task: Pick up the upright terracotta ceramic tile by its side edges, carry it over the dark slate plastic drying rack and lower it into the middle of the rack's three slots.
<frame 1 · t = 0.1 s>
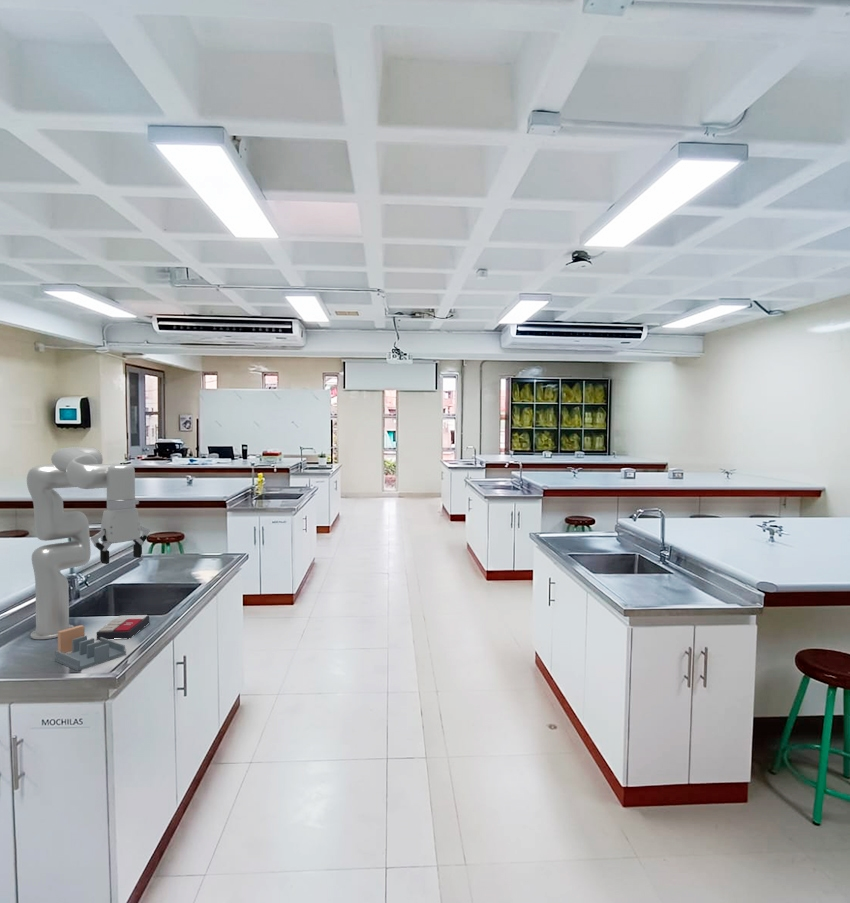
hand: (121, 560, 159), 31 cm above the countertop, tool pointing down, fingers open, 9 cm apart
tile: (71, 650, 168), on the countertop
rack: (90, 657, 162), on the countertop
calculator: (124, 633, 185), on the countertop
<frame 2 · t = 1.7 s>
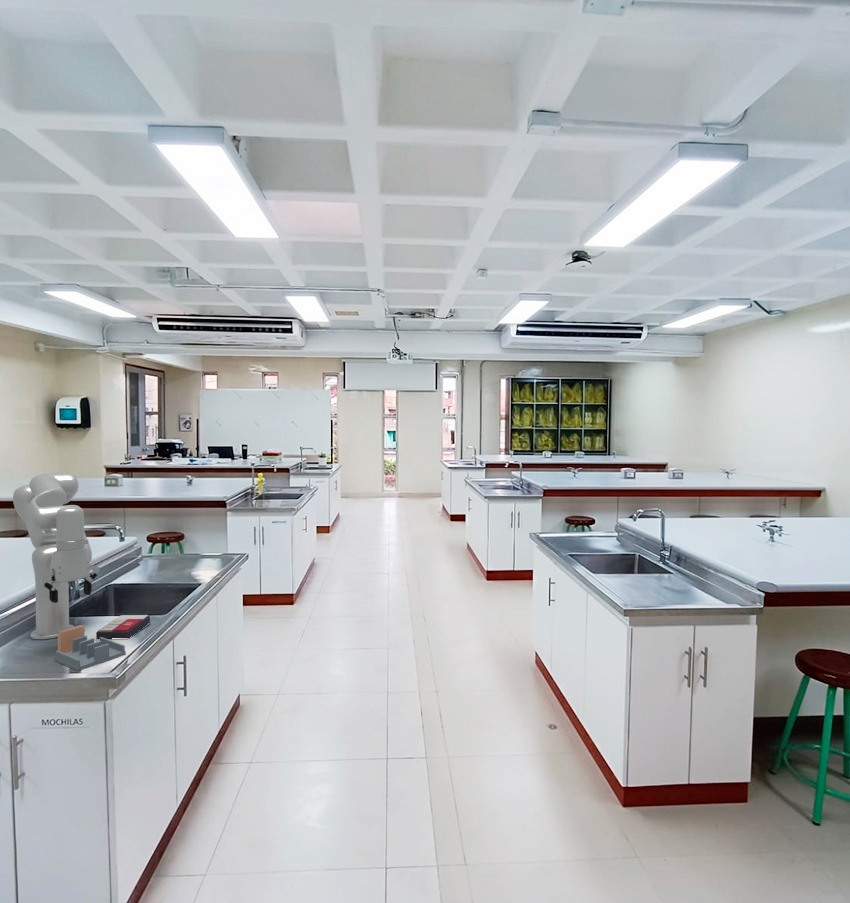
hand: (71, 598, 168), 17 cm above the countertop, tool pointing down, fingers open, 9 cm apart
nothing on the countertop moved.
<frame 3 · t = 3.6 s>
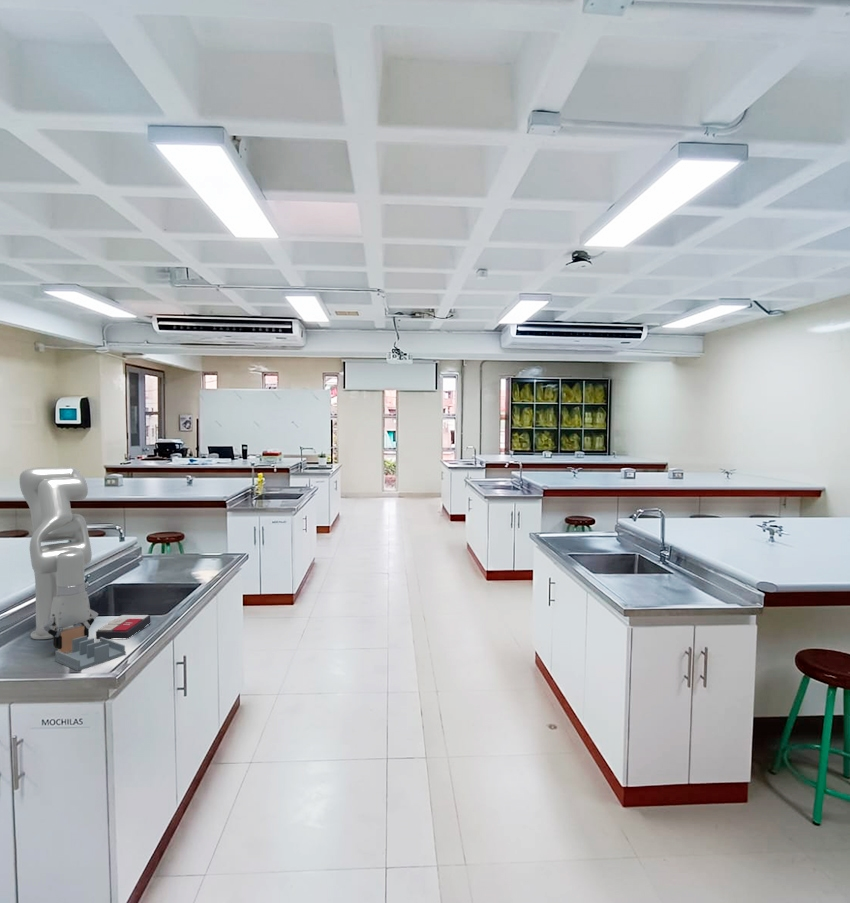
hand: (71, 643, 168), 2 cm above the countertop, tool pointing down, fingers closed on tile, 7 cm apart
tile: (71, 650, 168), on the countertop, touching gripper
everything else where it was.
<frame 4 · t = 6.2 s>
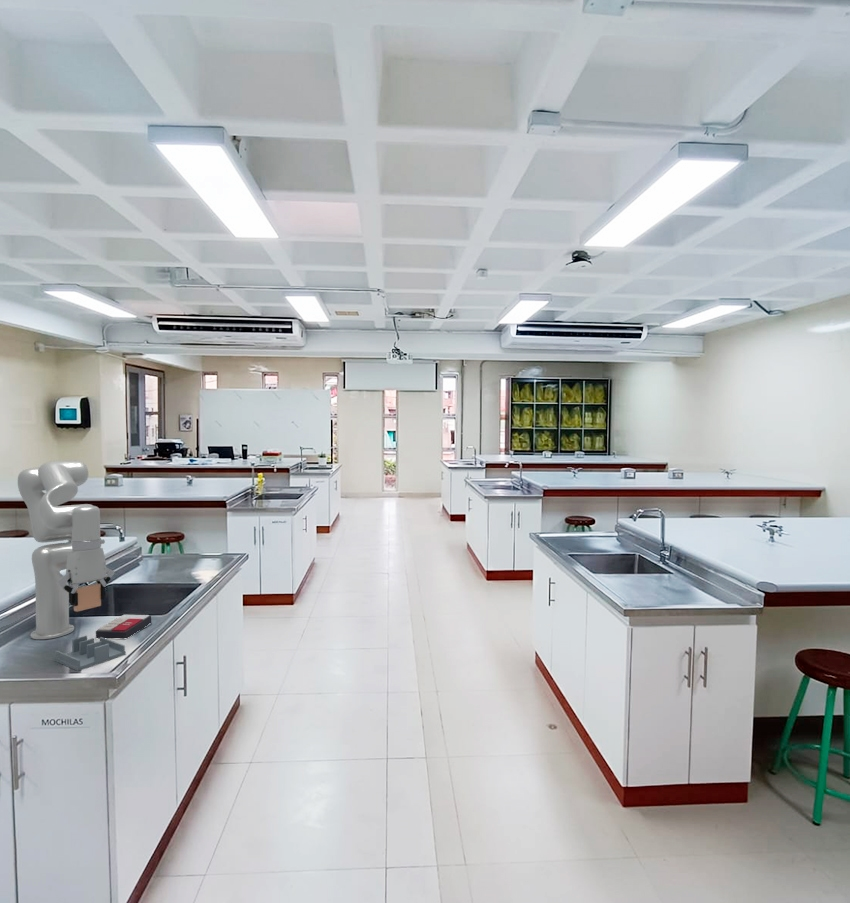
hand: (87, 601, 162), 17 cm above the countertop, tool pointing down, fingers closed on tile, 7 cm apart
tile: (87, 608, 163), point 15 cm above the countertop, touching gripper
everything else where it was.
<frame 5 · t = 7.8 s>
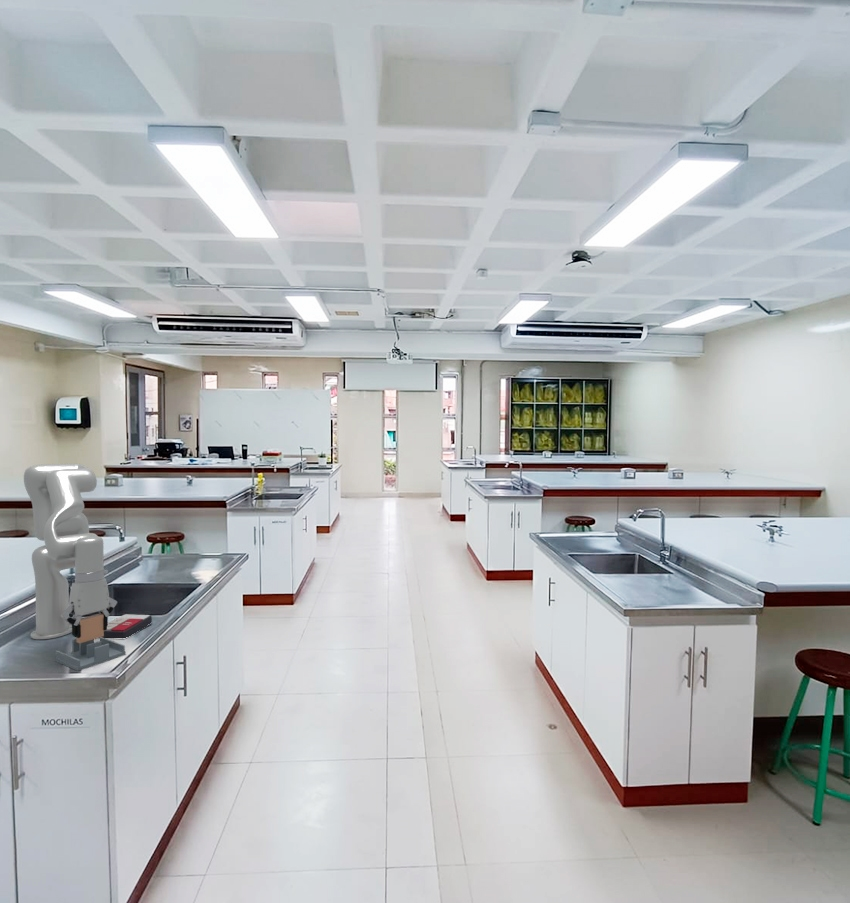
hand: (90, 632, 162), 8 cm above the countertop, tool pointing down, fingers closed on tile, 7 cm apart
tile: (90, 639, 162), point 6 cm above the countertop, touching gripper
when the fingers open (4 cm above the countertop, at t = 9.1 s): tile drops 1 cm, resting on rack.
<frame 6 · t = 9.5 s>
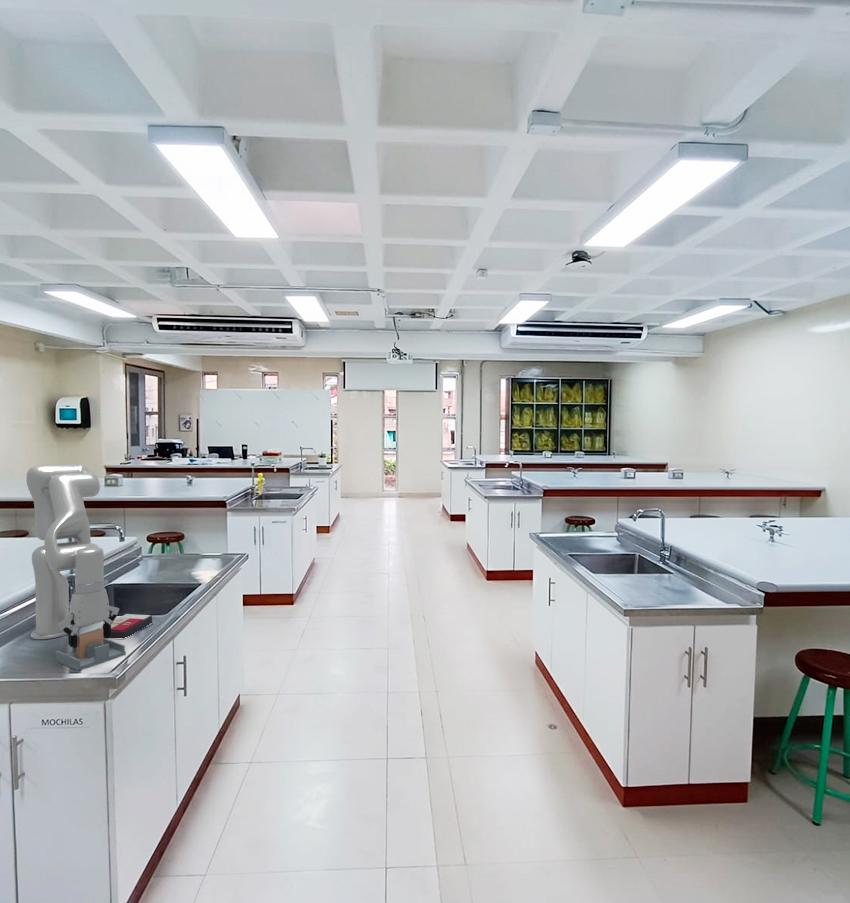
hand: (90, 641, 162), 5 cm above the countertop, tool pointing down, fingers open, 9 cm apart
tile: (90, 654, 162), point 1 cm above the countertop, touching rack
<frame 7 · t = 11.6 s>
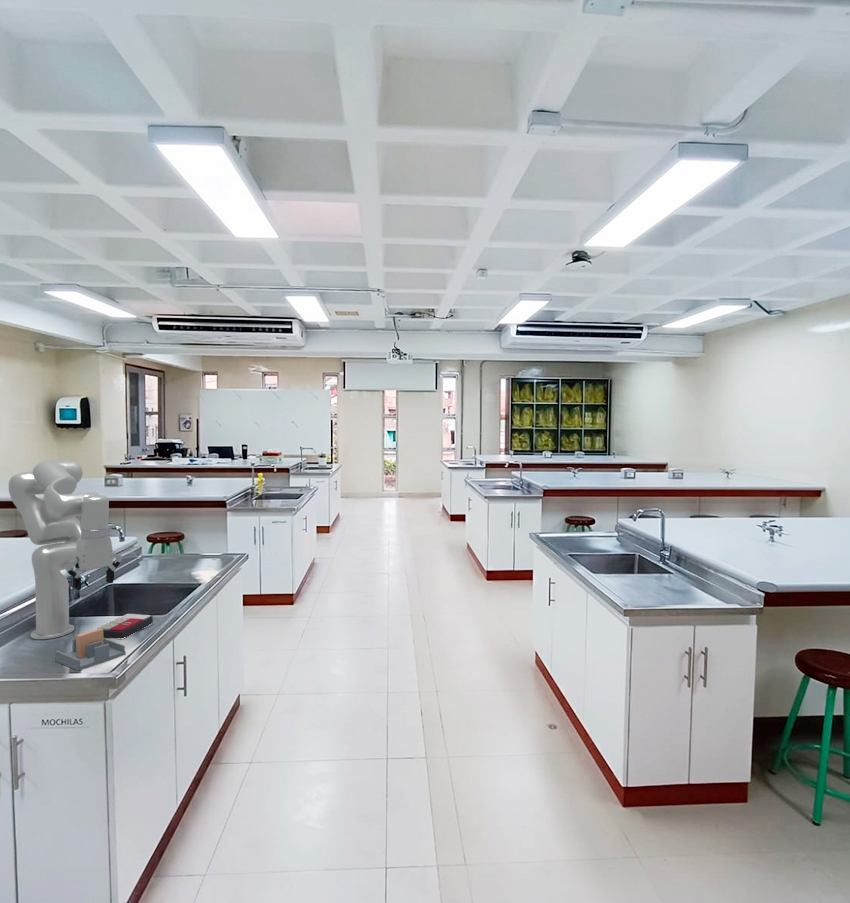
hand: (93, 585, 168), 21 cm above the countertop, tool pointing down, fingers open, 9 cm apart
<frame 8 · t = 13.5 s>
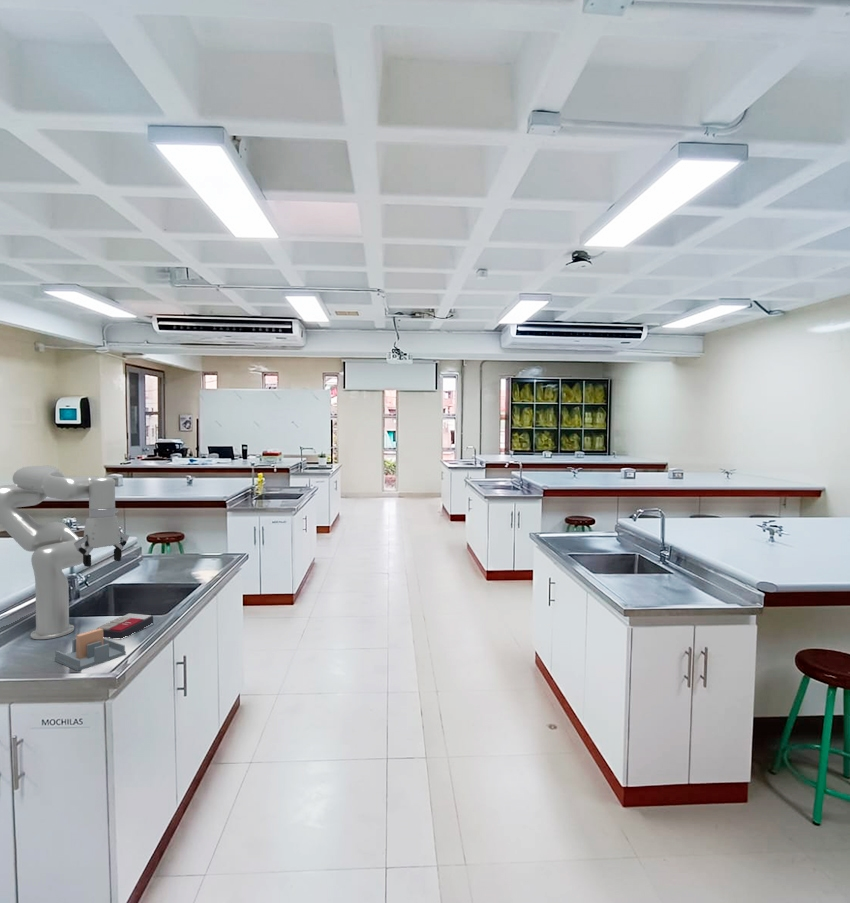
hand: (102, 563, 177), 26 cm above the countertop, tool pointing down, fingers open, 9 cm apart
at the end: tile 0.1 cm off-centre on the rack, point 1.0 cm above the rack's base; tile tilted 0°; the gripper is holding nothing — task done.
